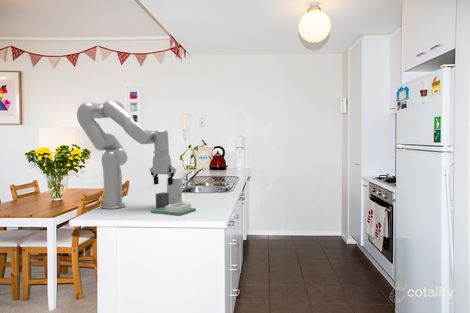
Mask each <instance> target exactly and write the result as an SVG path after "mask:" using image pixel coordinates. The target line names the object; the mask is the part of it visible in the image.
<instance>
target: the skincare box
mask: <svg viewBox="0 0 470 313" xmlns="http://www.w3.org/2000/svg"><path fill="white" fill-rule="evenodd" d="M168 178H169V177H167V179H166V181H167V182H166V193H169V205H172V204H176V203H183V202H182V198H183V197H182V195H183V194H182V193H183V192H182V191H183V177H173V184H172V185H168Z"/></svg>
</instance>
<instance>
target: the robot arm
mask: <svg viewBox="0 0 470 313" xmlns="http://www.w3.org/2000/svg"><path fill="white" fill-rule="evenodd" d="M76 118H77V122H78V123H79V126H80V127H81V128H82V129H83V132H84V133H85V134H86V136H87V137H88V139H89V141H90V142H91V143H92V145H93V147H94V148H95V149H96V150H98V151H105V152H104V153H103V154H102V155H101V166H102V173H103V198H102V199H100V201H99V202H100V203H102V204H101V209H104V210H114V209H122V208H124V207H126V203H123V182H122V181H123V179H122V177H123V176H122V169H121V167H122V166H123V165H125V164H126V163H127V161H128V155H127V152H126V151H125V149H124V148H123V145H122V144H121V143H120V141H119V140H118V138H116V136H115V135H113V134H111V133H106V132H105V131H104V129H103V128H102V126H101V125H100V124H99V123H98V122H97V120H96V119H107V118H110V119H111V120H113V122H115V123H117V124H118V125H119V126H120V127H121V128H122V129H123V130H124V132H125V133H126V134H127V135H128V136H129V137H130V138H132V139H133V140H134V141H136V142H137V143H139V144H141V145H152V144H153V146H154V150H153V154H154V155H153V158H152V167H150V168H149V169H148V170H149V172H150V174H151V177H152V178H153V185H155V186H156V185H159V184H160V183H159V175H166V176H167V178H168V185H172V184H173V177H174V176H175V174H176V171H177V168H175V167H174V166H172V165H173V164H172V160H171V156H170V151H169V150H170V149H169V145H170V144H169V132H168V130H167V129H160V130H159V129H157V130H149V129H144V128H143V127H142V126H141V125H139V124H138V123H137V122H136V121H135V119H134V116H133V114H131V113H130V112H129V111H128V110H127V109H125V106H124V105H123V104H122V102H120V101H117V100H112V99H111V100H110V99H109V100H106V101H104V102H103V103H102V102H101V103H98V102H92V101H87V102H83V103H81V104H80V105H79V106H78V108H77V112H76Z"/></svg>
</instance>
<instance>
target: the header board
mask: <svg viewBox="0 0 470 313" xmlns="http://www.w3.org/2000/svg"><path fill="white" fill-rule="evenodd" d="M196 211H197V209H196V208H194V207H192V203H187V202H181V203H176V204H169V205H168V206H165V207H161V208H158V209H156V208H154V209H152V210H150V213H151V214H160V215H161V214H162V215H168V214H169V215H171V216H176V217H180V216H184V215H186V214H189V213H193V212H196Z"/></svg>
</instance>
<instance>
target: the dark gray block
mask: <svg viewBox="0 0 470 313" xmlns="http://www.w3.org/2000/svg"><path fill="white" fill-rule="evenodd" d="M168 205H170V204H169V193H167V192H158V193H155V209H156V208H157V209H158V208H161V207H165V206H168Z"/></svg>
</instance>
